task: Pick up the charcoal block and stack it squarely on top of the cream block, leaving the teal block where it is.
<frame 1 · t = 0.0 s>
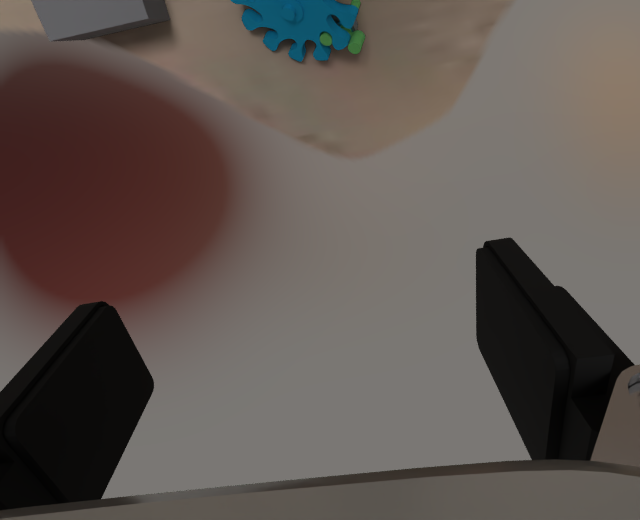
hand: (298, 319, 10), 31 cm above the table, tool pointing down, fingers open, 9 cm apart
gear: (302, 10, 34), on the table
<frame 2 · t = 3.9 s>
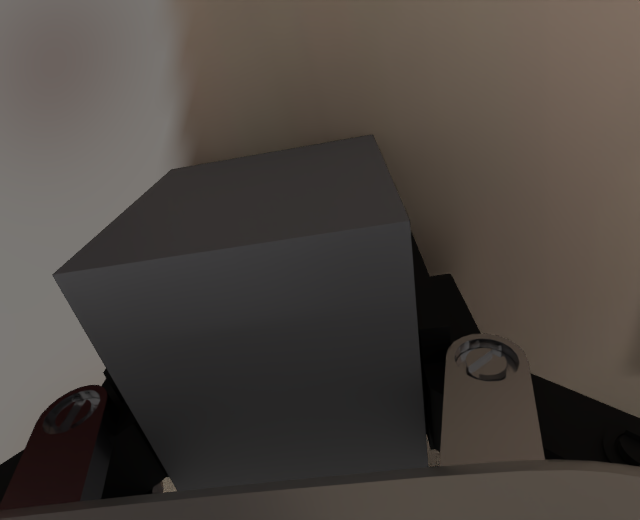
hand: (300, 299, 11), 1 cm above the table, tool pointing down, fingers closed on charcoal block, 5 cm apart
charcoal block: (301, 289, 12), on the table, touching gripper
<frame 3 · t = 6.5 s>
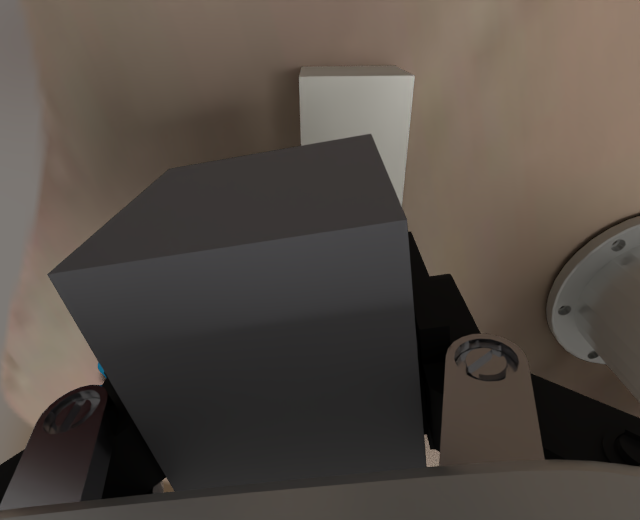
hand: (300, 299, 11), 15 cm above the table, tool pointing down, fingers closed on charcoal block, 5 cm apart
cream block: (346, 141, 24), on the table
charcoal block: (300, 288, 12), point 14 cm above the table, touching gripper
when the fingers open (6 cm above the table, at t = 9.2 s): charcoal block stays where it is, resting on cream block.
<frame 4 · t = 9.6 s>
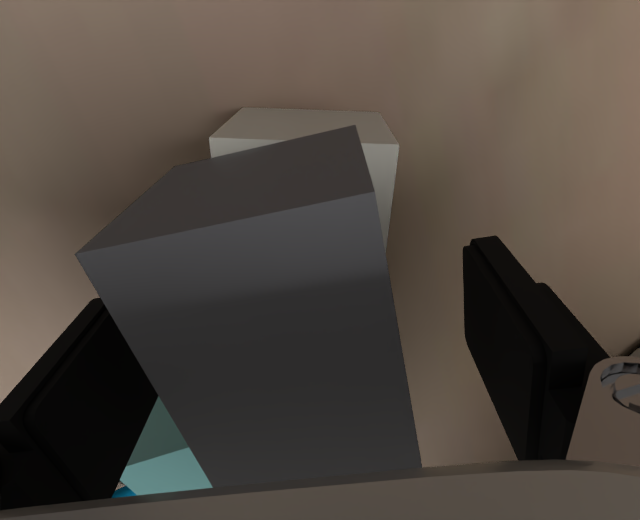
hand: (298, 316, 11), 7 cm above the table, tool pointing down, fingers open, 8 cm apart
cream block: (309, 209, 17), on the table, touching charcoal block
charcoal block: (299, 272, 13), point 5 cm above the table, touching cream block
teal block: (239, 393, 22), on the table
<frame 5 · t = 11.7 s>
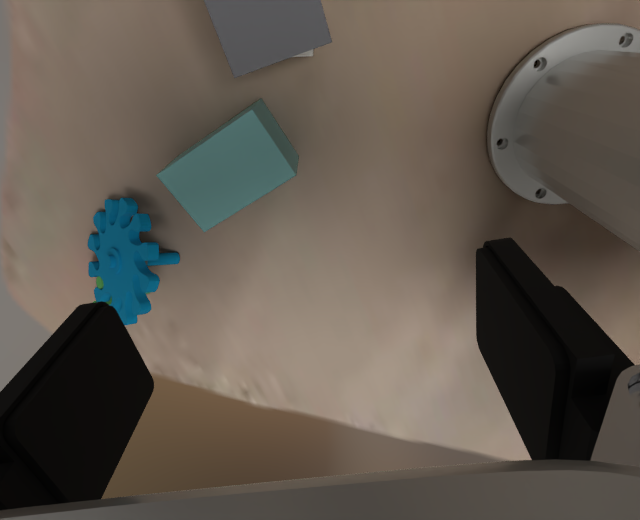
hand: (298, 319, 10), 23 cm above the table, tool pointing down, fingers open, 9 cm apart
gear: (138, 243, 36), on the table
teal block: (238, 155, 32), on the table
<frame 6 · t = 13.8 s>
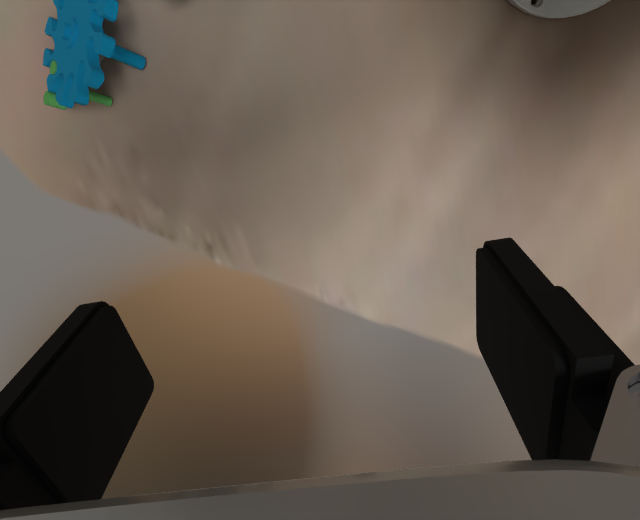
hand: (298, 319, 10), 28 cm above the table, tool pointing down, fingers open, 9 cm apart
gear: (102, 41, 33), on the table
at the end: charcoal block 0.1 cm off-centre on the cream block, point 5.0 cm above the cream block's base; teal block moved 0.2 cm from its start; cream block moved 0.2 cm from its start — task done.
